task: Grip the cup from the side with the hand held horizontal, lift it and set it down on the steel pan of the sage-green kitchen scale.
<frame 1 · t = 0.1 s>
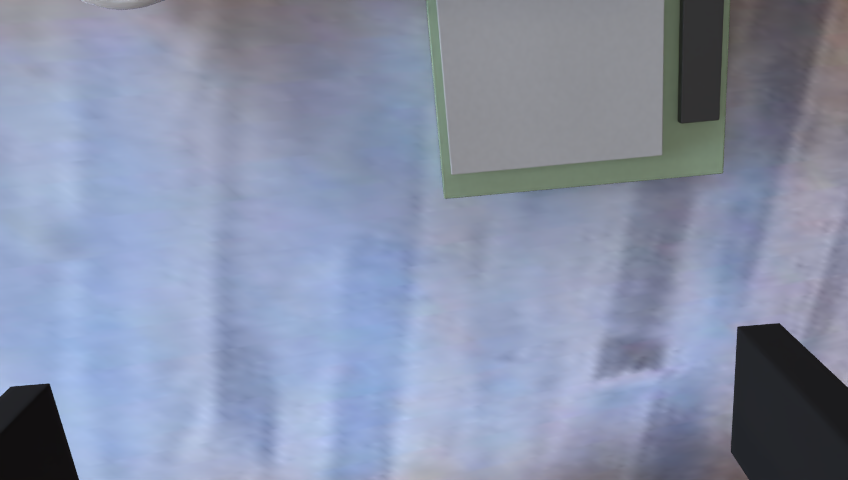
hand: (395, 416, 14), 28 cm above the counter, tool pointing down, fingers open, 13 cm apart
scale: (570, 30, 38), on the counter
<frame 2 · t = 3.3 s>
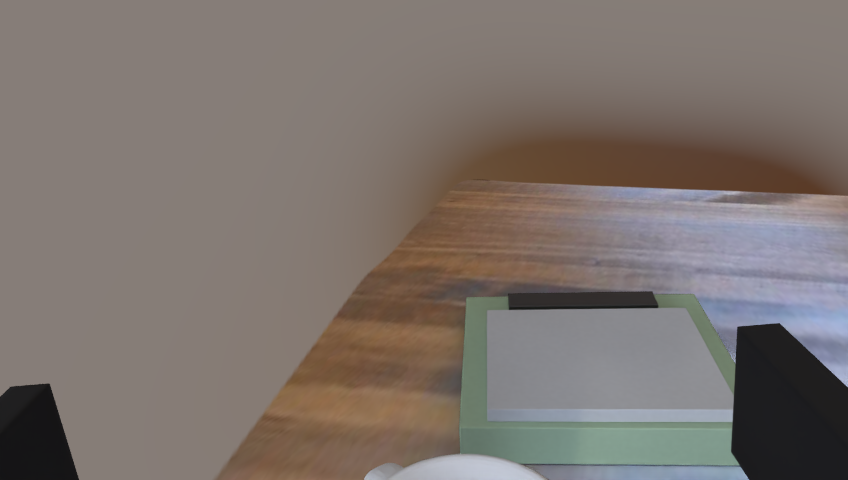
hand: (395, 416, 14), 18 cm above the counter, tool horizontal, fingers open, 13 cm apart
scale: (591, 384, 45), on the counter
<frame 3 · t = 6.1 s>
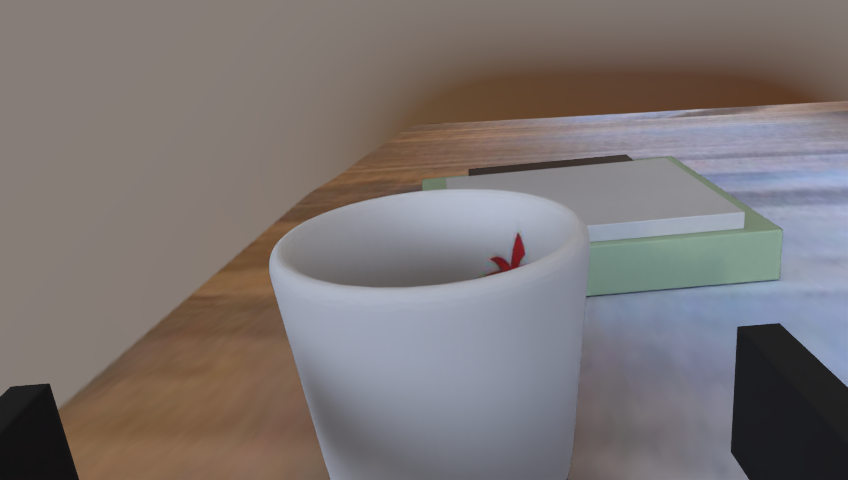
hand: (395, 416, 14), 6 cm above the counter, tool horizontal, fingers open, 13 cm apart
scale: (569, 241, 39), on the counter
cup: (424, 475, 21), on the counter
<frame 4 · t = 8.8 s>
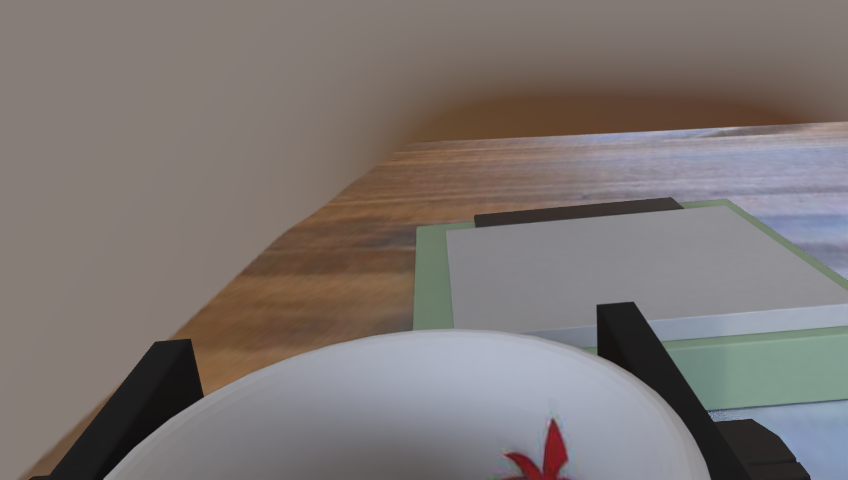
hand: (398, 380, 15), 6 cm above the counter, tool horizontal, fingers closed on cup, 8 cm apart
scale: (606, 316, 30), on the counter
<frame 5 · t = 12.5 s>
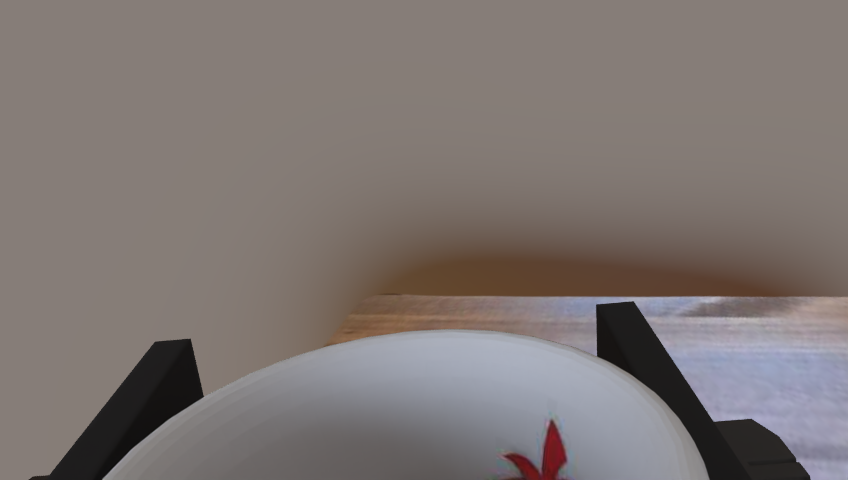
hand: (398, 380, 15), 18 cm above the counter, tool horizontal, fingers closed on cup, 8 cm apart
when the fingers open (9 cm above the counter, at t = 16.5 s): cup stays where it is, resting on scale.
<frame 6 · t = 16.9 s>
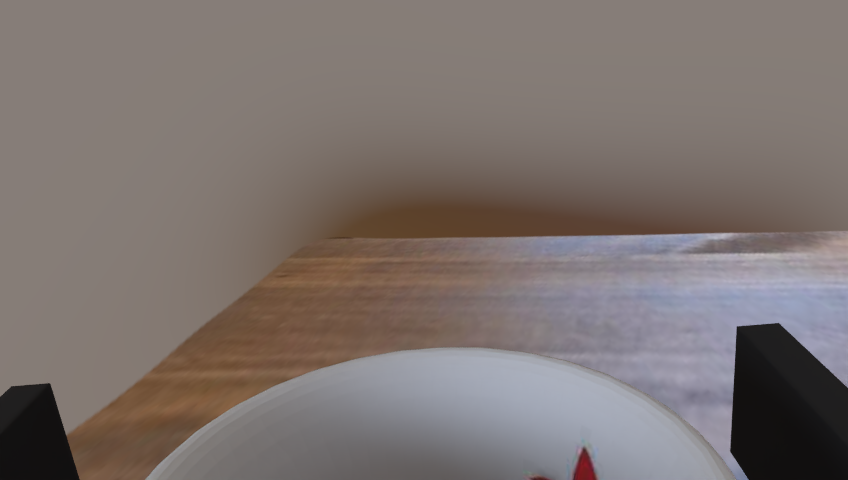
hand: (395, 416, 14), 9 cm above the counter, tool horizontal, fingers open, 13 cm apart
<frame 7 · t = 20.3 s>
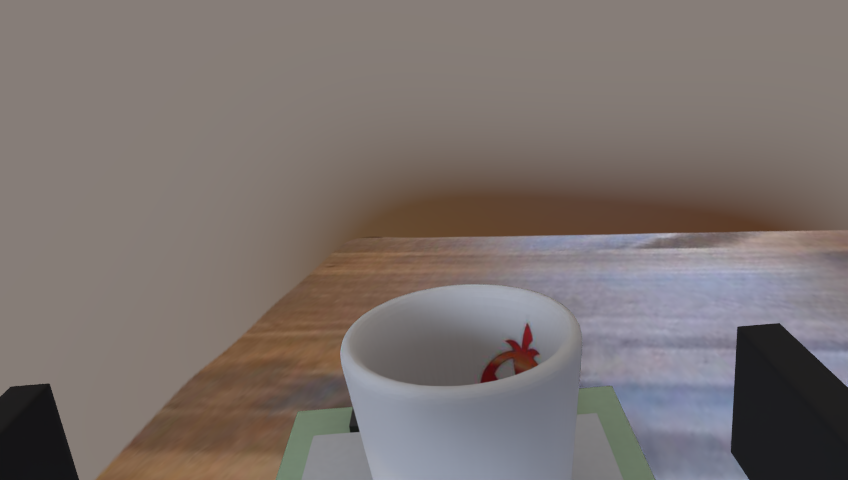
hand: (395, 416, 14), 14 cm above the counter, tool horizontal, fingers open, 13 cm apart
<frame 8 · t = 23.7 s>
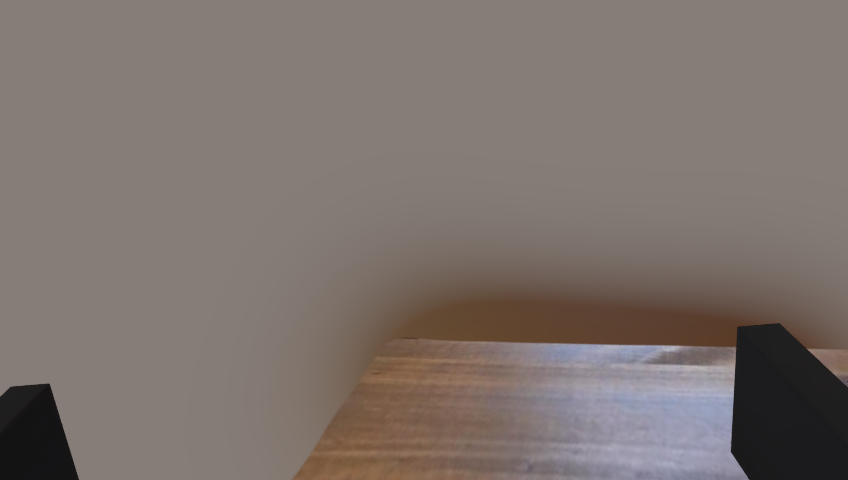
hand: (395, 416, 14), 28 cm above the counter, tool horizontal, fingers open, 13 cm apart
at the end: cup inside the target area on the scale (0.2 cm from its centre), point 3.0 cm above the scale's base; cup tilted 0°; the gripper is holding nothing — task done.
